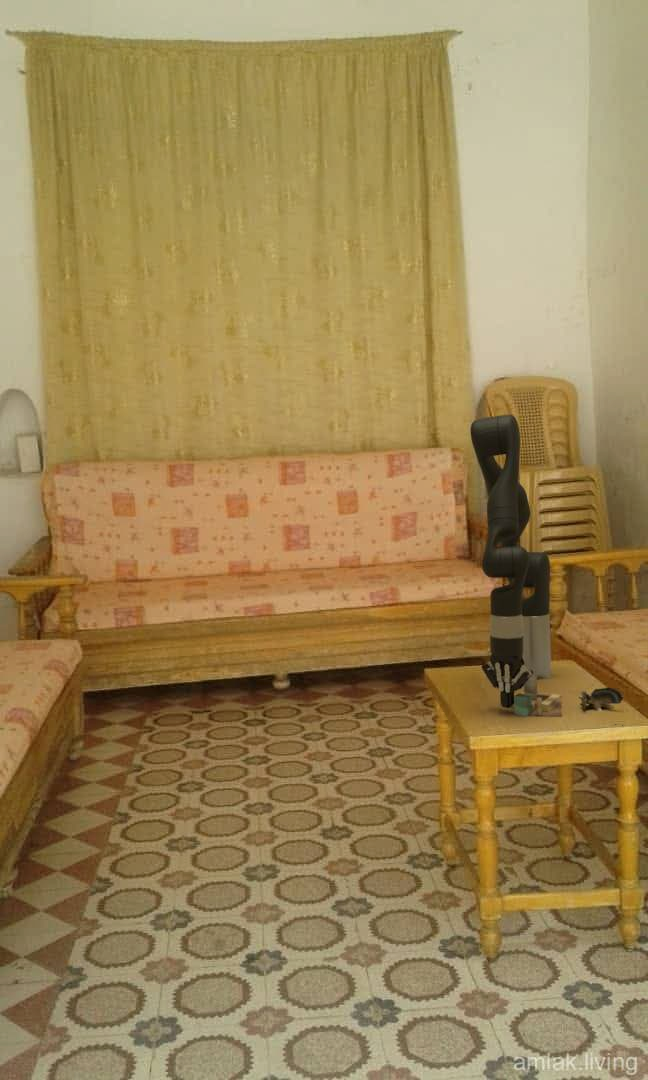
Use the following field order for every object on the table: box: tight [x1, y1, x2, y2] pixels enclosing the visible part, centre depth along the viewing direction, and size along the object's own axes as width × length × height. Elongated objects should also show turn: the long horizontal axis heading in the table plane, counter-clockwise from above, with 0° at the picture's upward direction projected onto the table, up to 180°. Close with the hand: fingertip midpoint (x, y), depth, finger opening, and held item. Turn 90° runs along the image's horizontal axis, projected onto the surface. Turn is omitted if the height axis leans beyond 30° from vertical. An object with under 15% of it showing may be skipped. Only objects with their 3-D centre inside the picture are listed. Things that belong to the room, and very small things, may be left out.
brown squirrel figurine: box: [578, 687, 624, 712], centre depth 241 cm, size 8×7×9 cm
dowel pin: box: [537, 698, 542, 716], centre depth 238 cm, size 1×1×4 cm
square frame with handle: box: [511, 691, 563, 717], centre depth 244 cm, size 14×9×4 cm, turn 147°
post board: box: [498, 675, 563, 718], centre depth 246 cm, size 17×14×8 cm
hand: (507, 706), depth 242 cm, fingers closed
